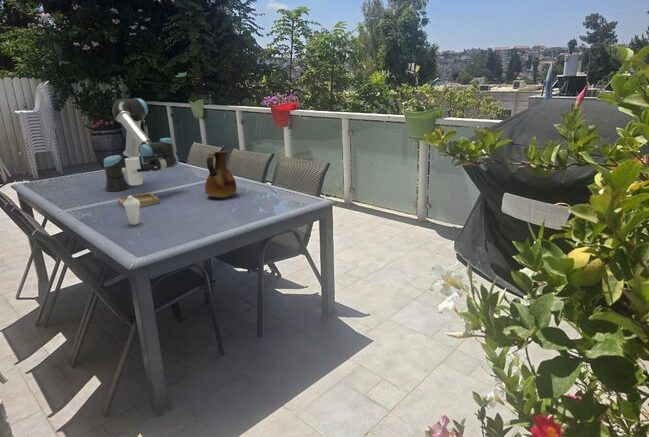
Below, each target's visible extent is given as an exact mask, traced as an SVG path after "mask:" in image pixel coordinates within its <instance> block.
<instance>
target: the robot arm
mask: <svg viewBox="0 0 649 437" xmlns="http://www.w3.org/2000/svg"><path fill="white" fill-rule="evenodd" d="M148 112H149V110H148V105H147V103H146V102H145V100H143V99H142V98H136V97H135V98H125V99H124V98H123V99H118V100H116V101H115V102H113V105H112V114H113V115H112V116H113V118H114V119H115V120H116V121H117V122H118V123H120V124H121V125H122V126H123V127H124V129H125V130H126V137H125V139H126V140H125V150H124V151H123V152H122V156H121V155H120V154H119V155H118V154H115V155H109V156H107V157H105V158H104V159H103V167H104V172H105V179H106V181H105V188H104V189H105V191H106V192H112V193H113V192H122V191H125V190H128V189H130V187H129V186H130V185H129V182H128V180H126V178H125V174H127V169H126V163H125V159H126V158H131V157H139V159H140V166H141V167H140V168H136V169H131V170H132V174H135V173H139V172H143V173H147V172H150V171H152V172H156V171H160V170H161V171H163V170H165V169H169V168H173V167H174V168H175V167H176V166H178V165H179V158H178V156H177V155H175V154H174V153H175V152H174V144H173V139H172V138H171V137H164V138H160V139H159V141H158V142H152V140H151V139H150V138H149V137H148V136H147V135H146V133H145V131H143V130H142V128H141V126H142V125H141V123H142V121H144V117H145V116H147V115H148ZM156 155H161V156H162V157H157V158H153V159H150V160H149V161H148V162H145V163H144V157H152V156H156Z"/></svg>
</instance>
